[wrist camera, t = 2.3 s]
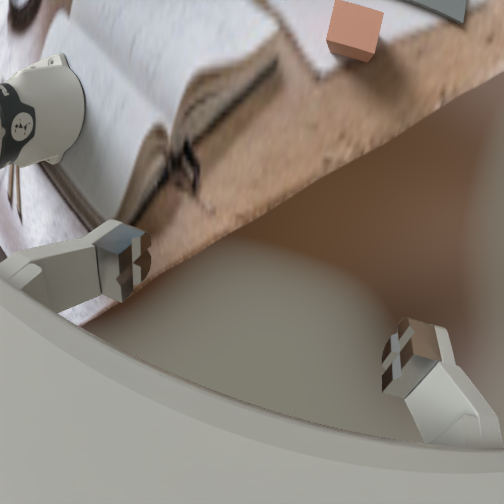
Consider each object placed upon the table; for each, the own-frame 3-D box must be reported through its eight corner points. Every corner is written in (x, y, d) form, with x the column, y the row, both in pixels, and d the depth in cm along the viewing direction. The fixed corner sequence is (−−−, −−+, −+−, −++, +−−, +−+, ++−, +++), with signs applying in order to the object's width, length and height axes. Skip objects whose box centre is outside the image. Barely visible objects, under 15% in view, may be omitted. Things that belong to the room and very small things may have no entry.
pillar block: (330, 52, 27) (326, 39, 20) (337, 19, 25) (335, -1, 18) (367, 62, 26) (374, 53, 20) (374, 30, 24) (383, 12, 17)
